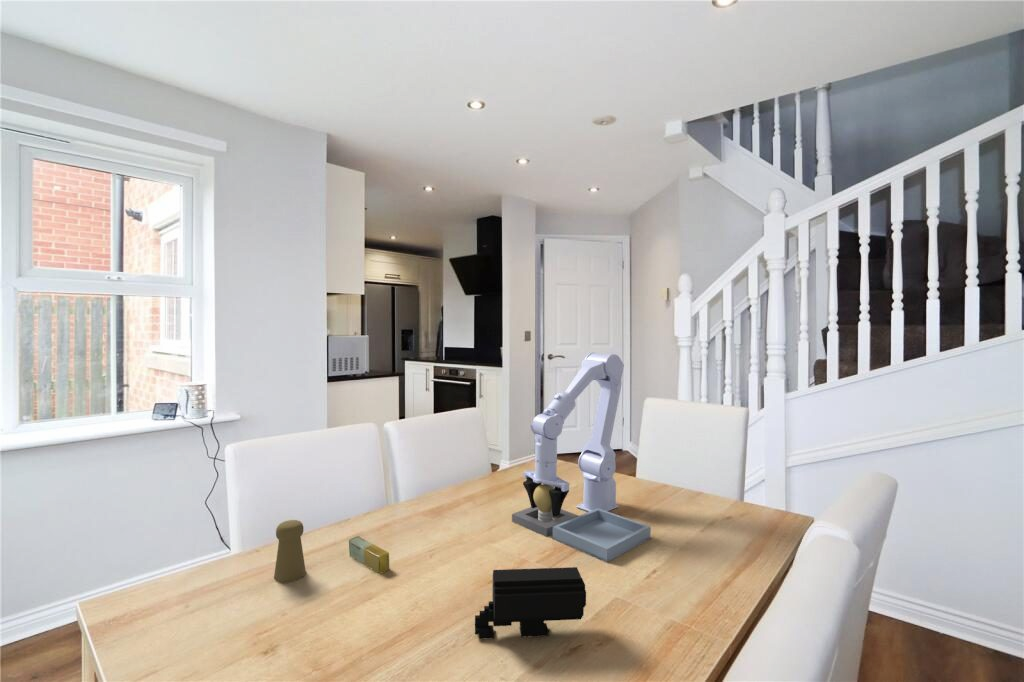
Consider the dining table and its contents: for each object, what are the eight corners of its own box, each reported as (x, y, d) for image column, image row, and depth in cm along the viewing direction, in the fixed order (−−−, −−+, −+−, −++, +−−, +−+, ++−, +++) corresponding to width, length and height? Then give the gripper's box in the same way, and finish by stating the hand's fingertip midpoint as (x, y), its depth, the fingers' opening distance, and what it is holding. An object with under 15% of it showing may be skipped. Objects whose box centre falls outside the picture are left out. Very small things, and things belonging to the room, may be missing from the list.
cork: (312, 570, 103) (312, 518, 103) (290, 584, 97) (290, 530, 97) (289, 565, 105) (289, 514, 105) (266, 579, 99) (266, 525, 99)
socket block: (543, 509, 138) (543, 502, 138) (578, 522, 129) (578, 515, 129) (511, 521, 130) (512, 514, 130) (546, 536, 121) (546, 528, 121)
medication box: (348, 556, 110) (347, 539, 110) (359, 552, 112) (358, 535, 112) (379, 575, 102) (379, 556, 102) (390, 570, 104) (390, 551, 104)
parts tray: (597, 519, 132) (597, 508, 132) (650, 538, 120) (650, 526, 120) (552, 538, 119) (552, 526, 119) (606, 562, 108) (607, 549, 108)
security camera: (474, 622, 86) (475, 566, 86) (578, 617, 88) (579, 562, 87) (475, 648, 79) (475, 587, 79) (587, 643, 81) (588, 583, 80)
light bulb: (557, 518, 132) (557, 481, 132) (557, 527, 126) (557, 489, 126) (533, 516, 133) (534, 480, 133) (532, 526, 127) (532, 488, 126)
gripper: (515, 457, 131) (515, 507, 132) (556, 469, 121) (555, 523, 121) (534, 452, 136) (533, 501, 137) (574, 464, 126) (574, 516, 126)
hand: (545, 511), depth 129 cm, fingers open, 7 cm apart
